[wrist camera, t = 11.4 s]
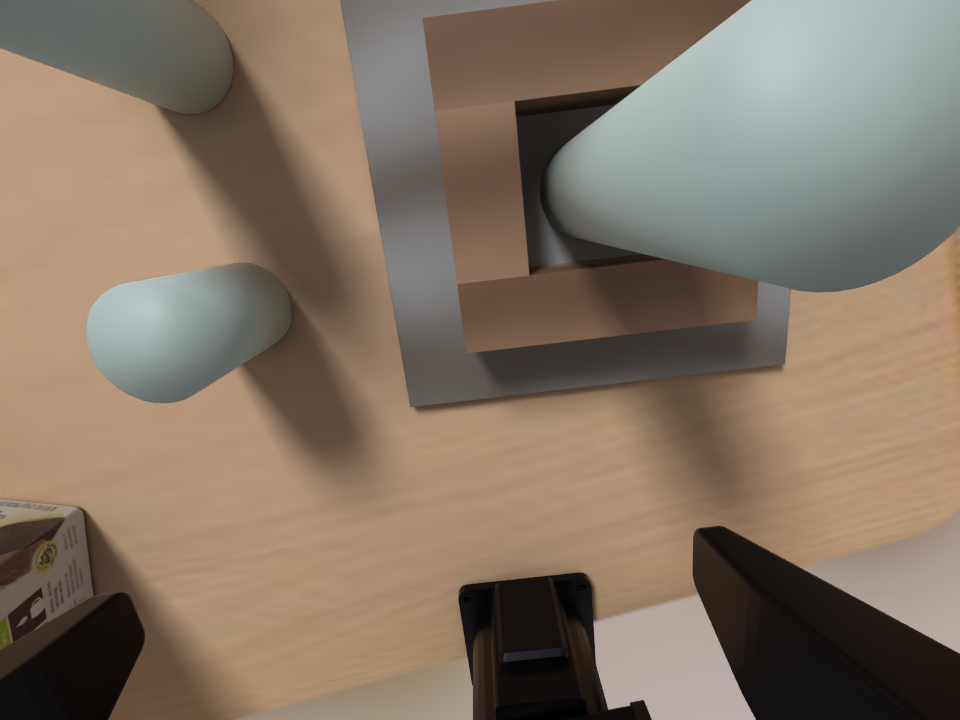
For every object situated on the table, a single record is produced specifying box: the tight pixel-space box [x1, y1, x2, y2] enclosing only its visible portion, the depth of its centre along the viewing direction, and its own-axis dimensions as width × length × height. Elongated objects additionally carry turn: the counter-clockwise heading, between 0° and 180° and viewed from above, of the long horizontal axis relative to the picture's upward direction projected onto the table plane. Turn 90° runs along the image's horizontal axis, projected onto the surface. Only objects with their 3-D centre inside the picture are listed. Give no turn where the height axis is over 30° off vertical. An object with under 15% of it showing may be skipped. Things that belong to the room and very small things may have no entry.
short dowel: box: [86, 263, 292, 403], centre depth 16 cm, size 4×4×6 cm
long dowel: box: [540, 0, 960, 292], centre depth 11 cm, size 4×4×13 cm
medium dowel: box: [0, 0, 234, 114], centre depth 12 cm, size 4×4×9 cm
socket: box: [340, 0, 791, 407], centre depth 17 cm, size 16×16×3 cm
